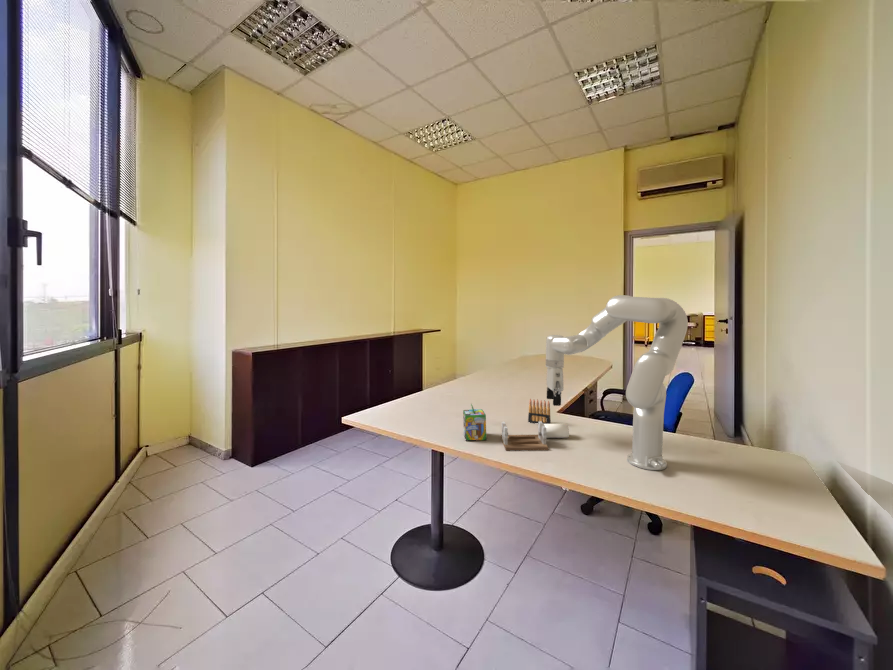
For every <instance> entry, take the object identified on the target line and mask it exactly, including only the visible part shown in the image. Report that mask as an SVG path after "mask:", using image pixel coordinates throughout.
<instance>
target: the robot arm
mask: <svg viewBox="0 0 893 670" xmlns="http://www.w3.org/2000/svg"><path fill="white" fill-rule="evenodd" d="M628 321H629V322H634V323H636V322H637V323H646V324H658V328H657V330H656V331H655V334H654V337H653V341H652V343H651V346H650V347H649V350H648V351H647V352H644V353H642V355H640V356H639V357H638V358H637V360H636V361H635V364H634V366H633V369H632V371H631V372H632V373H631V375H630V378H629V381H628V384H627V386H626V390H625V397H626V400H627V402H628V404H630V405H631V406H632V407H633V415H632V416H633V417H632V418H633V419H632V441H631V443H632V448H631V453H629V454H628V455H627V457H626V458H627V459H626V460H627V462H628V463H629V464H630V465H633V466H634V467H638V468H640V469H644V470H648V471H661V470H662V471H663V470H665V469H667V466H668V463H667V461H666V459H664V456H663V443H664V441H663V440H664V419H665V408H666V407H665V406H666V400H667V389H666V386H665V384H664V381H665V378H666V376H668V375H670V374H671V373H672V372H673V370H674V368H675V365H676V362H677V359H678V357H679V354H680V352H681V349H682V345H683V344H684V340H685V337H686V334H687V331H688V325H689V322H688V316H687V313H686V311H685V309H684V307H682V305H680V304H679V303H678V302H676V301H675V300H673V299H670V298H667V297H644V296H632V295H627V294H626V295H623V294H622V295H621V294H619V295H614V296H612V297H611V298H609V300H608V301H607V303H606V305H605V307H604V308H603V309H601V310H600V311H598V313H596V314H595V315H593V316H592V318H591V322H590V324H589V325H588V326H587V327H586V328H585V329H583V330H582V331H581V332H579V333H577V334H576V335H569V336H563V335H560V334H549V335H547V337H546V341H545V368H546V379H545V380H546V383H545V384H546V399H547V400H552V405H553V406H554V407H555V406H556V407H557V406H559V407H560V406H562V392H563V391H564V369H563V368H565V367H564V366H565V365H564V364H565V355H569V356H570V355H571V356H572V355H575V354H576V355H577V354H578V353H583V352H586V351H587V350H588V349H590V348H591V347H593V346H594V345H597V343H598V342H600V341H601V340H602V339H604V338H605V337H606V336H607V335H608V334H609V333H611V332H612V331H614V330H615V329H617V328H619V327H620V326H621V325H623V324H625V323H626V322H628Z"/></svg>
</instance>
